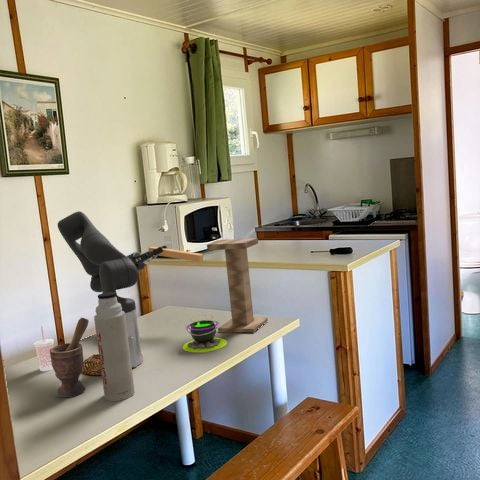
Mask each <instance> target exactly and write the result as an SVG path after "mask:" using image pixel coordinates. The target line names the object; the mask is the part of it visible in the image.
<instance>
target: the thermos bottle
mask: <svg viewBox="0 0 480 480" xmlns="http://www.w3.org/2000/svg"><path fill="white" fill-rule="evenodd" d="M116 296H118V294H117V291H116V292H107V293H102V292H101V293H100V294H97V301H98V305H97V306H96V307H95V315H94V317H93V321H94V327H95V335H96V341H97V351H98V357H99V365H100V373H101V380H102V386H103V394H104V399H105V401H110V402H119V401H124V400H127V399H129V398H131V397H133V396H134V395H135V393H136V392H135V383H134V376H133V375H134V374H133V369H132V367H131V360H130V350H129V342H128V334H127V326H126V318H125V312H124V311H122V307H121V304H120V303H118V302H117V298H116Z"/></svg>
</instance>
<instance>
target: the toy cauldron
mask: <svg viewBox="0 0 480 480" xmlns="http://www.w3.org/2000/svg"><path fill="white" fill-rule="evenodd" d="M200 316H207V314H205V313H204V314H202V315H200ZM211 317H212V318H214V316H213V315H212V316H211ZM189 321H192V318H190V319H189ZM219 324H220V322H218V320H216V321H215V320H212V319H211V318H209V319H204V320H203V319H202V320H200V319H198V320H197V321H194V320H193V322H191V323H189V324H188V325H185V328H186V331H187V332H188V334H190V336H191V338H192V339H193V340H190V341H187V342H186V343H184V344H183V345H182V350H184V351H185V352H189V353H207V352H212V351H216V350H220V349H222V348H224V347H225V346H226V345H227V343H228V342H227V340H226V339H224V338H221V337H216V334H217V329H218V325H219Z"/></svg>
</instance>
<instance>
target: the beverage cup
mask: <svg viewBox="0 0 480 480" xmlns="http://www.w3.org/2000/svg"><path fill="white" fill-rule="evenodd" d="M40 331H41V338H42V339H39V340H37V341H34V342H33V346H34V348H35V353H36V357H37V361H38V366H39V370H40V372H49V371H52V370H54V369H53V367H52V363H51V356H50V349H51V348H53V347H54V343H55V342H54V341H55V340H54V338H45V335H44V329H43V326H40Z"/></svg>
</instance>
